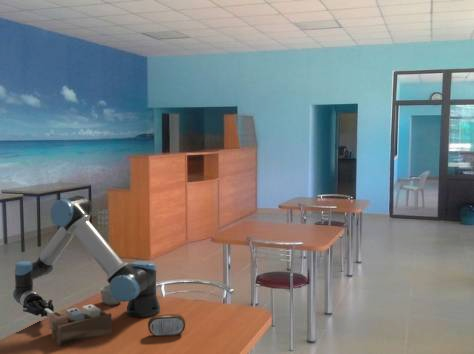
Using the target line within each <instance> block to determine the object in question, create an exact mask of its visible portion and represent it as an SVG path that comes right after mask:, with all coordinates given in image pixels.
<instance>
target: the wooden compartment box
mask: <svg viewBox="0 0 474 354" xmlns="http://www.w3.org/2000/svg"><path fill="white" fill-rule="evenodd" d="M112 330H113V329H112V313H106V311H103V310H101V309H100V316H97V317H93V318H92V317H91V316H89V315H88V314H84V320H81V321H77V322H76V321H74V320H73V319H71V318H68V324H65V325H61V326H60V325H59V324H57V323H56V322H55V321H53V322H52V330H51V339H52V340H53V341H54V342H56V343H57V344H58V345H59V346H61V347H64V346H65V347H66V346H69V345H73V344H75V343H80V342H84V341H87V340H90V339H94V338H98V337H102V336H106V335H109V334H112Z"/></svg>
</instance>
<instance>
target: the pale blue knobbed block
mask: <svg viewBox="0 0 474 354" xmlns="http://www.w3.org/2000/svg"><path fill="white" fill-rule="evenodd" d="M65 315H66V316H67V317H68V318H71V319H73V320H74V321H76V322H77V321H81V320H84V312H82V309H79V308H77V307H73V308H68V309H65Z"/></svg>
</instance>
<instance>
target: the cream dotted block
mask: <svg viewBox="0 0 474 354" xmlns="http://www.w3.org/2000/svg"><path fill="white" fill-rule="evenodd" d="M100 310H101V308H100V307H97V306H95V305H94V304H92V303H91V304H87V305H81V311H82V312H84V314H88V315H89V316H91V317H92V318H93V317H97V316H100Z"/></svg>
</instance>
